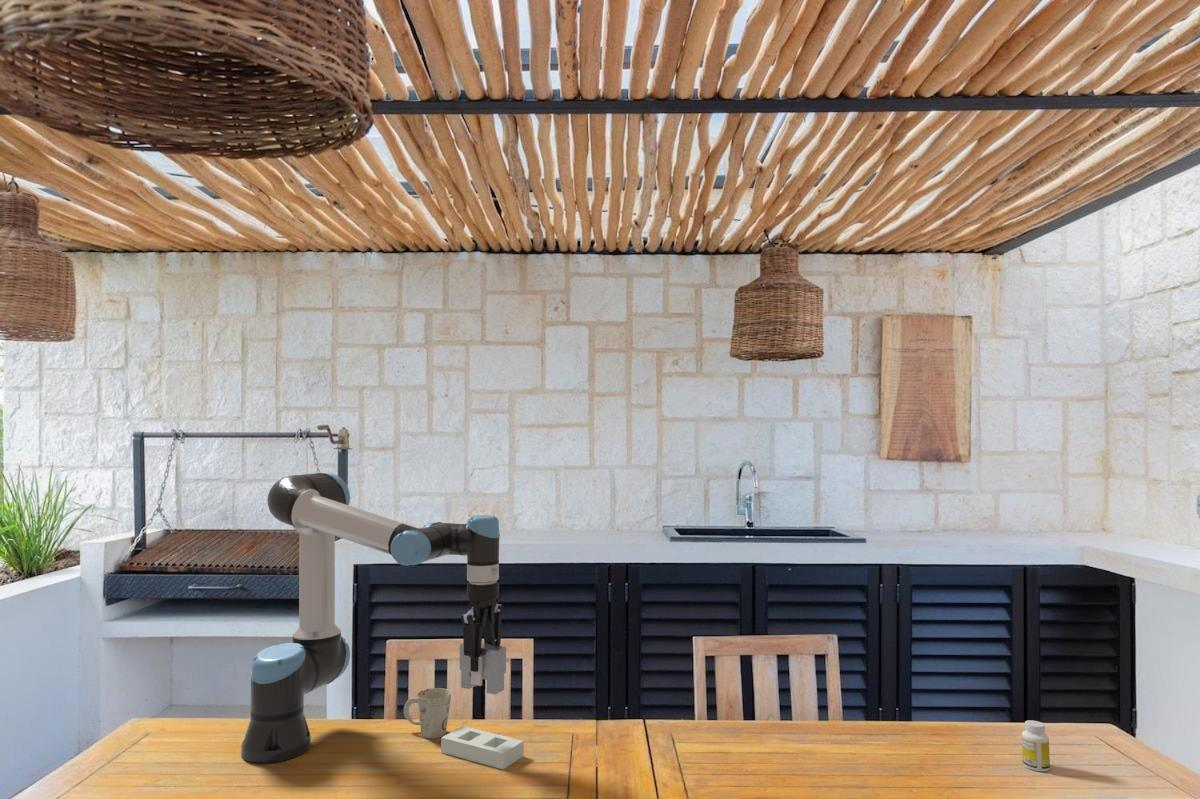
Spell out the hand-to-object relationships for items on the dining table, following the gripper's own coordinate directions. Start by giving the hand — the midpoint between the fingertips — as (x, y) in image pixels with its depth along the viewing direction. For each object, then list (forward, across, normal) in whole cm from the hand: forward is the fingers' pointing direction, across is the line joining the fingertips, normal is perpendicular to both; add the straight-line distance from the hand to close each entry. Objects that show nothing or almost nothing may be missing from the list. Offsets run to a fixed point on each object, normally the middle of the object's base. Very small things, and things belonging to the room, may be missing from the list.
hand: (482, 681), depth 176 cm
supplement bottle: (+18, +58, -114) cm, 129 cm away
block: (+17, 0, 0) cm, 17 cm away
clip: (+2, 0, 0) cm, 2 cm away
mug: (+17, +3, +20) cm, 26 cm away
